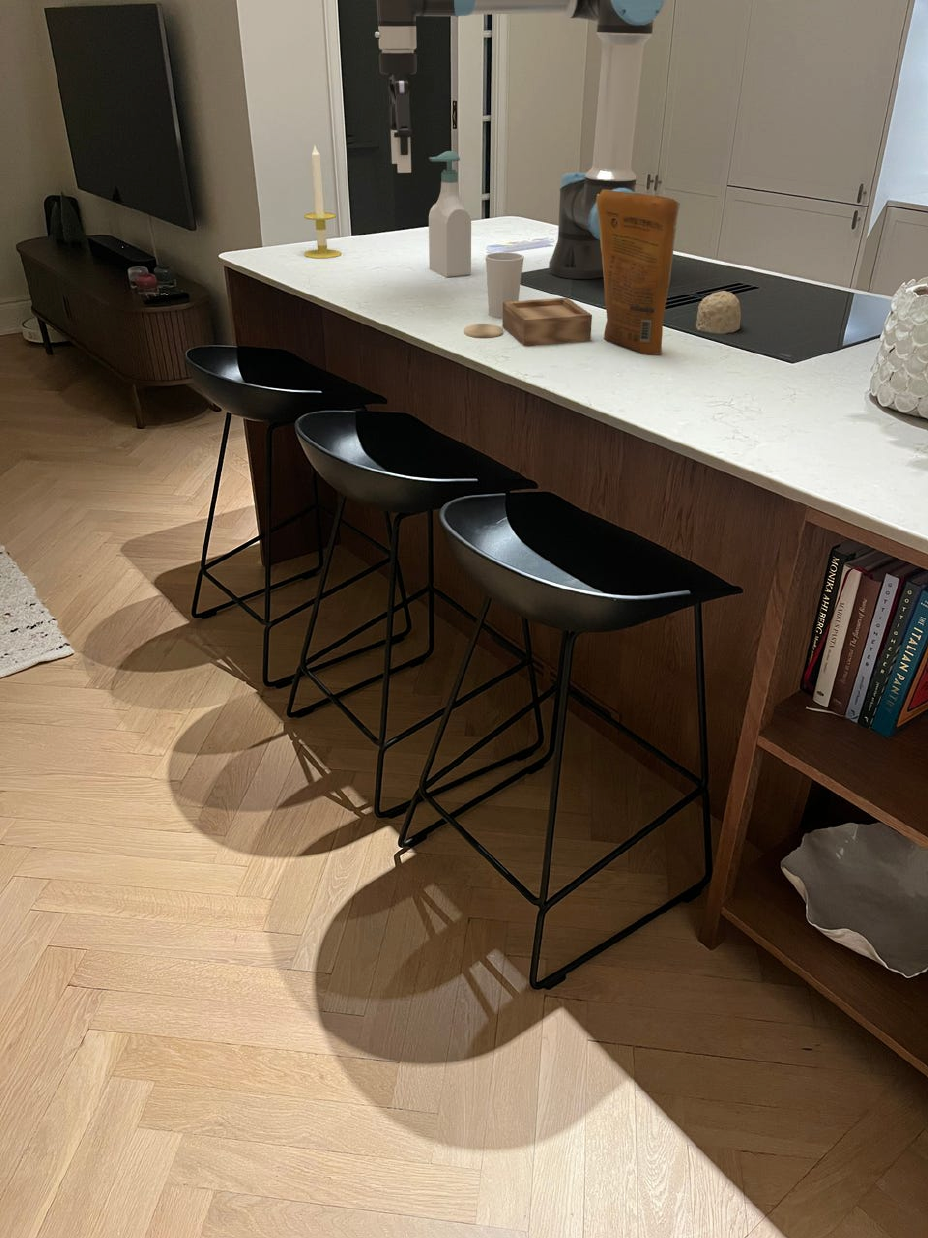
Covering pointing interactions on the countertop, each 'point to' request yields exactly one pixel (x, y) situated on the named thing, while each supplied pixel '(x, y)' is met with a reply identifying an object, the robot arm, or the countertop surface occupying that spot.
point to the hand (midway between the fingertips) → (401, 167)
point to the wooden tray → (546, 321)
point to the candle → (320, 214)
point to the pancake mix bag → (636, 266)
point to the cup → (503, 280)
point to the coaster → (483, 330)
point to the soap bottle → (449, 225)
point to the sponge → (719, 313)
